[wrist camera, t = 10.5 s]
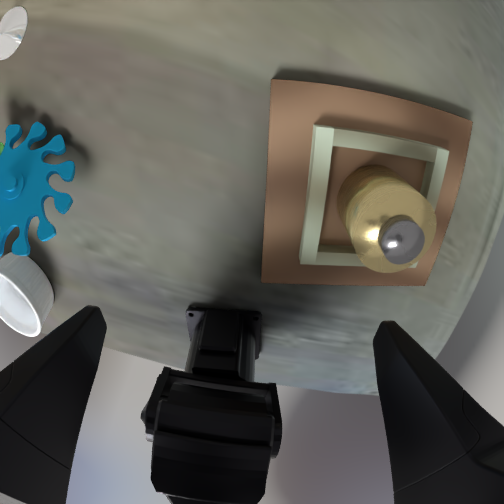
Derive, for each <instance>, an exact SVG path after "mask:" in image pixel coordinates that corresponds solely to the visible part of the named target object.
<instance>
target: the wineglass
mask: <svg viewBox="0 0 504 504" xmlns="http://www.w3.org/2000/svg"><path fill="white" fill-rule="evenodd" d="M26 26H27V13H26V10H25V9H24V8H23V7H21V6H19V7H14V8H12V9H10V10H9V11H8V12H7V13H6V14H5V15H4V16H3V18H2V19H1V20H0V60H4V59H6V58H8V57H9V56H11V55H12V54H13V53H14V52H15V50H16V49H17V48H18V46H19V44H20V43H21V41H22V39H23V36H24V33H25V31H26Z"/></svg>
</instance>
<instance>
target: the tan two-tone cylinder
mask: <svg viewBox="0 0 504 504" xmlns="http://www.w3.org/2000/svg"><path fill="white" fill-rule="evenodd" d="M336 207H337V212H338V215H339V217H340V219H341V221H342V224H343V226H344V228H345V230H346V232H347V234H348V236H349V238H350V241H351V243H352V245H353V247H354V249H355V251H356V254H357V256H358V258H359V259H360V261H361V262H362V263H363V264H364V265H365V266H366V267H368V268H369V269H371V270H374V271H376V272H381V273H392V272H398V271H401V270H404V269H406V268H408V267H410V266H412V265H413V264H415V263H416V262H417V261H419V260H420V259H421V258H422V257H423V256H424V254H425V253H426V252H427V251H428V249H429V248H430V246H431V244H432V242H433V239H434V236H435V233H436V215H435V212H434V209H433V207H432V205H431V204H430V203H429V201H428V200H427V199H426V198H425V197H423V196H422V195H421V194H420V193H419V192H418V191H417V190H416V189H414V188H413V187H412V186H411V185H410V184H409V183H408V182H406V181H405V180H404V179H403V178H402V177H400V176H399V175H398V174H397V173H396V172H394V171H393V170H392V169H390V168H388V167H385V166H382V165H367V166H364V167H361V168H359V169H357V170H355V171H354V172H352V173H351V174H350V175H349V176H348V177H347V178H346V179H345V180H344V181H343V183H342V185H341V186H340V189H339V191H338V194H337V201H336Z"/></svg>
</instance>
